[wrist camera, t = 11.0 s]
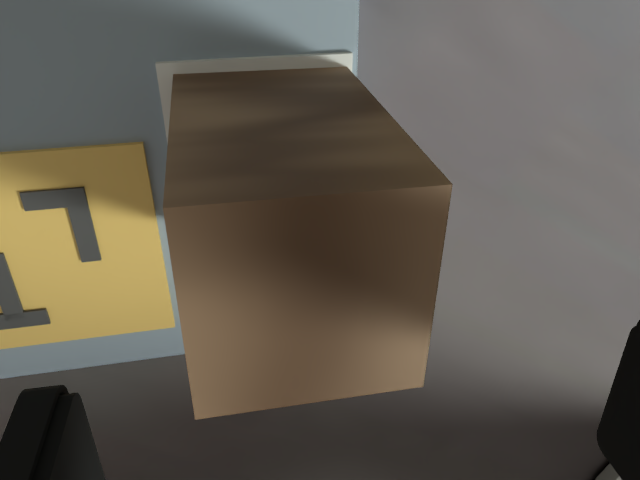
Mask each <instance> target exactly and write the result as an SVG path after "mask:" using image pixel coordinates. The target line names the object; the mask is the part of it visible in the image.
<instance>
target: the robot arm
mask: <svg viewBox="0 0 640 480" xmlns="http://www.w3.org/2000/svg"><path fill="white" fill-rule="evenodd" d="M597 441H598V445H599V447H600V449H601V451H602V453H603V454H604V456H605V457H606V458H607V460H608V461H609V463H610V464H609V465H608V466H607V467H606V468H605V469H604V470H603V471H602V472H601V473H600V474H599V475H598V476H597V477H596V479H595V480H640V320H639V322H638V323H637V325H636V326H635V327H634V328H632V330H631V331H630V334H629V337H628V340H627V343H626V346H625V349H624V352H623V355H622V358H621V361H620V364H619V367H618V370H617V373H616V376H615V379H614V382H613V385H612V388H611V391H610V394H609V397H608V400H607V403H606V406H605V409H604V412H603V415H602V418H601V421H600V424H599V427H598V430H597ZM0 480H105V477H104V473H103V470H102V467H101V463H100V460H99V456H98V453H97V450H96V446H95V443H94V440H93V436H92V433H91V430H90V426H89V423H88V419H87V416H86V413H85V409H84V406H83V403H82V399H81V397H80V395H79V394H78V393H72V394H69V393H68V391H67V388H66V387H65V386H64V385H58V386H49V387H41V388H32V389H24V390H23V391H22V392H21V393H20V395H19V397H18V399H17V402H16V404H15V407H14V409H13V412H12V414H11V417H10V419H9V422H8V424H7V427H6V429H5V432H4V434H3V437H2V439H1V442H0Z"/></svg>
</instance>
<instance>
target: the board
mask: <svg viewBox="0 0 640 480" xmlns="http://www.w3.org/2000/svg"><path fill="white" fill-rule="evenodd" d="M358 28H359V0H0V379H3V378H11V377H18V376H26V375H33V374H40V373H48V372H55V371H63V370H70V369H78V368H85V367H93V366H100V365H108V364H115V363H122V362H130V361H137V360H145V359H152V358H160V357H167V356H175V355H182V354H185V351H184V344H183V338H182V331H181V324H180V318H179V311H178V305H177V298H176V292H175V285H174V279H173V272H172V265H171V259H170V252H169V246H168V239H167V233H166V226H165V220H164V213H163V198H164V185H165V172H166V159H167V146H168V133H169V120H170V107H171V93H172V80H173V74H189V73H212V72H236V71H259V70H282V69H305V68H329V67H348V68H349V69H350V71H351V72H352V73H353V74H354V75H355V76H356V77H357V60H358Z"/></svg>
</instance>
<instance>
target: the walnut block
mask: <svg viewBox="0 0 640 480" xmlns="http://www.w3.org/2000/svg"><path fill="white" fill-rule="evenodd" d="M452 185H453V184H452V183H451V182H450V181H449V180H448V179H447V178H446V177H445V175H444V174H443V173H442V172H441V171H440V170H439V169H438V168H437V167H436V165H435V164H434V163H433V162H432V161H431V160H430V159H429V158H428V156H427V155H426V154H425V153H424V152H423V151H422V150H421V149H420V148H419V146H418V145H417V144H416V143H415V142H414V141H413V140H412V139H411V138H410V136H409V135H408V134H407V133H406V132H405V131H404V130H403V129H402V127H401V126H400V125H399V124H398V123H397V122H396V121H395V120H394V119H393V117H392V116H391V115H390V114H389V113H388V112H387V111H386V110H385V109H384V107H383V106H382V105H381V104H380V103H379V102H378V101H377V100H376V98H375V97H374V96H373V95H372V94H371V93H370V92H369V91H368V90H367V88H366V87H365V86H364V85H363V84H362V83H361V82H360V81H359V80H358V78H357V77H356V76H355V75H354V74H353V73H352V72H351V71H350V69H349V68H348V67H329V68H305V69H282V70H259V71H236V72H212V73H189V74H173V80H172V93H171V107H170V120H169V133H168V146H167V159H166V172H165V185H164V198H163V213H164V220H165V226H166V233H167V239H168V246H169V252H170V259H171V265H172V272H173V279H174V285H175V292H176V298H177V305H178V311H179V318H180V324H181V331H182V338H183V344H184V351H185V357H186V364H187V370H188V377H189V383H190V390H191V397H192V403H193V410H194V416H195V420H197V419H204V418H211V417H218V416H225V415H232V414H239V413H246V412H253V411H259V410H266V409H273V408H280V407H287V406H294V405H301V404H308V403H315V402H322V401H329V400H335V399H342V398H349V397H356V396H363V395H370V394H377V393H384V392H391V391H398V390H405V389H411V388H418V387H423V385H424V378H425V371H426V364H427V357H428V350H429V343H430V336H431V329H432V323H433V316H434V309H435V302H436V295H437V288H438V281H439V274H440V267H441V260H442V254H443V247H444V240H445V233H446V226H447V219H448V212H449V205H450V198H451V191H452Z"/></svg>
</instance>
